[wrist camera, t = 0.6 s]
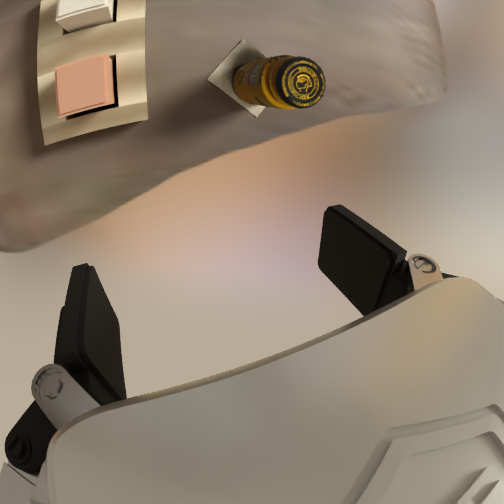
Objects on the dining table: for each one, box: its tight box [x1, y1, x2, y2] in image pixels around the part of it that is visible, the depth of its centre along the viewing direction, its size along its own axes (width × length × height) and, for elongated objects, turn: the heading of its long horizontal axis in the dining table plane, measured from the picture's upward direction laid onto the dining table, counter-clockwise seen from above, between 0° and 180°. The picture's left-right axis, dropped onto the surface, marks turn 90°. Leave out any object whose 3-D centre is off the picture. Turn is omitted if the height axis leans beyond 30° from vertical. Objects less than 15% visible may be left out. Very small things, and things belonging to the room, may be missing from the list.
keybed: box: [37, 0, 148, 146], centre depth 19 cm, size 20×12×4 cm, turn 1°
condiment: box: [207, 39, 326, 117], centre depth 25 cm, size 7×8×12 cm
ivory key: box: [56, 0, 114, 33], centre depth 13 cm, size 5×5×6 cm
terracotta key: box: [55, 53, 115, 118], centre depth 19 cm, size 5×5×6 cm
